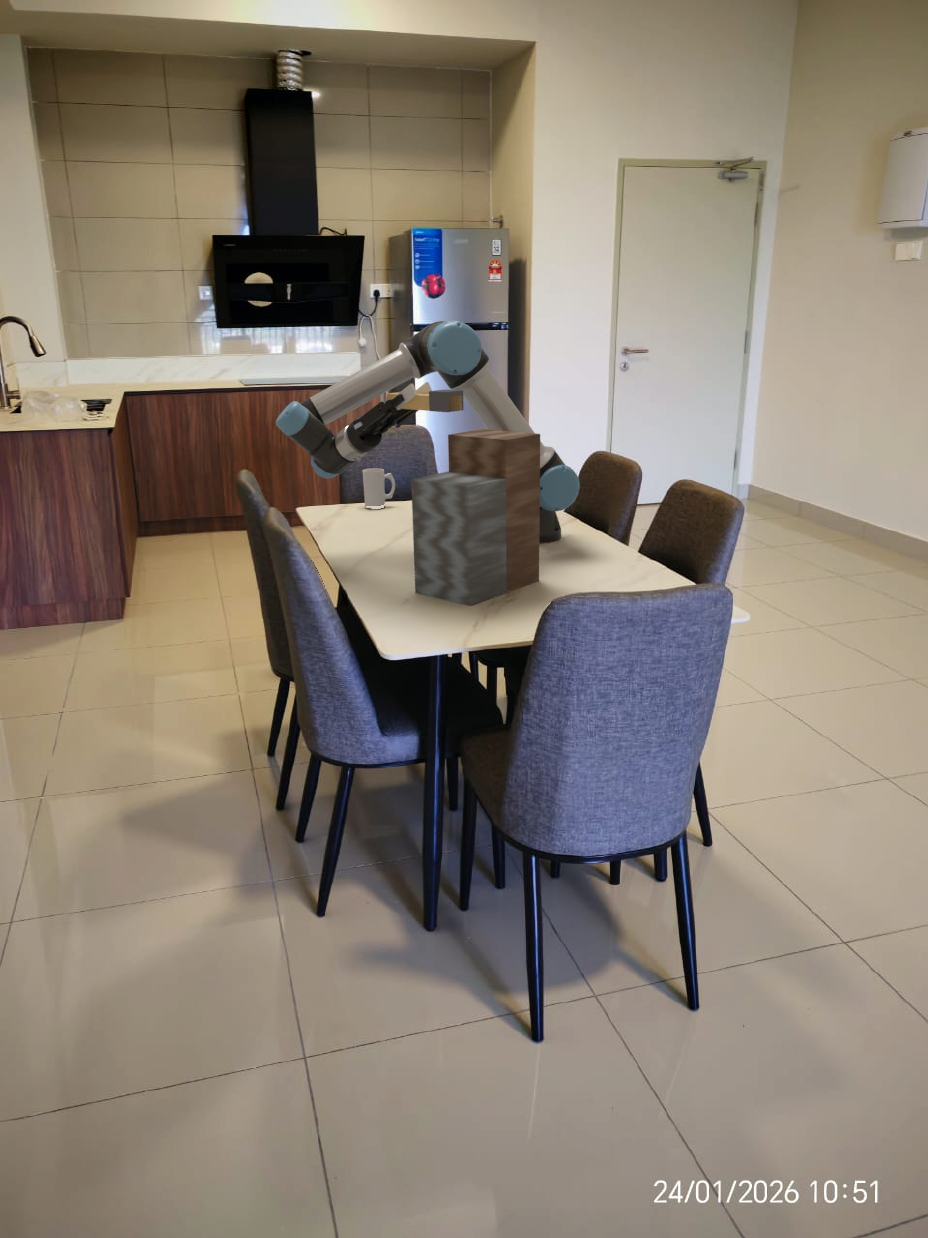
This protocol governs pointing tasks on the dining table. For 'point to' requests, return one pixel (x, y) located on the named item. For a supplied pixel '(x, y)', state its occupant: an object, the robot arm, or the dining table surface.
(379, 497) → the mug
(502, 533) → the stand
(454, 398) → the block
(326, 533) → the dining table surface
